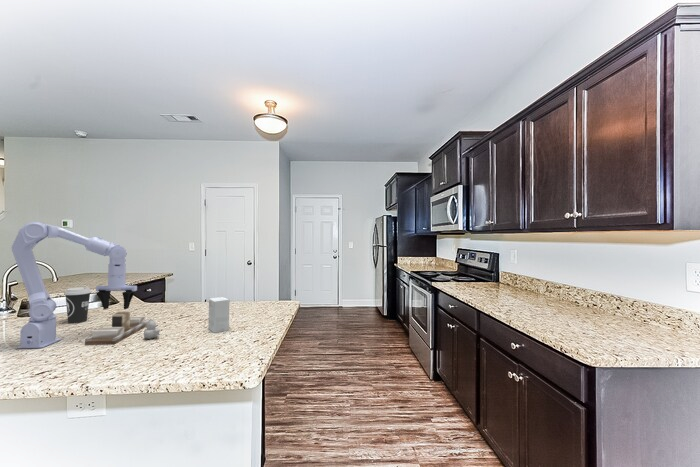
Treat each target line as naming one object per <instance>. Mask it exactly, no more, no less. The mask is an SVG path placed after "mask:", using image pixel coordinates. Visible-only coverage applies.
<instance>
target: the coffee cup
mask: <svg viewBox="0 0 700 467" xmlns="http://www.w3.org/2000/svg"><path fill="white" fill-rule="evenodd" d="M91 293H92V290H91V288H90V287H89V286H81V287H80V286H79V287H70V288H69V287H68V288H67V289H66V290H65V291H64V294H63V295H64V296H65V302H66V304H65V306H66V314H67V323H68V324H80V323H86V322H87V321H88V313H89V305H90V298H91Z"/></svg>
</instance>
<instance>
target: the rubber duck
mask: <svg viewBox="0 0 700 467" xmlns="http://www.w3.org/2000/svg"><path fill="white" fill-rule="evenodd" d="M149 320H150V321H148V323H147V325H146V327H145V328H146V329H144V330H143V337H144V338H145V339H151V340H152V339H154V338H156V337H159V336H160V332H161V329H160V328H157V322H156V321H155V320H154V319H152V318H151V317H150V318H149Z"/></svg>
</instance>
